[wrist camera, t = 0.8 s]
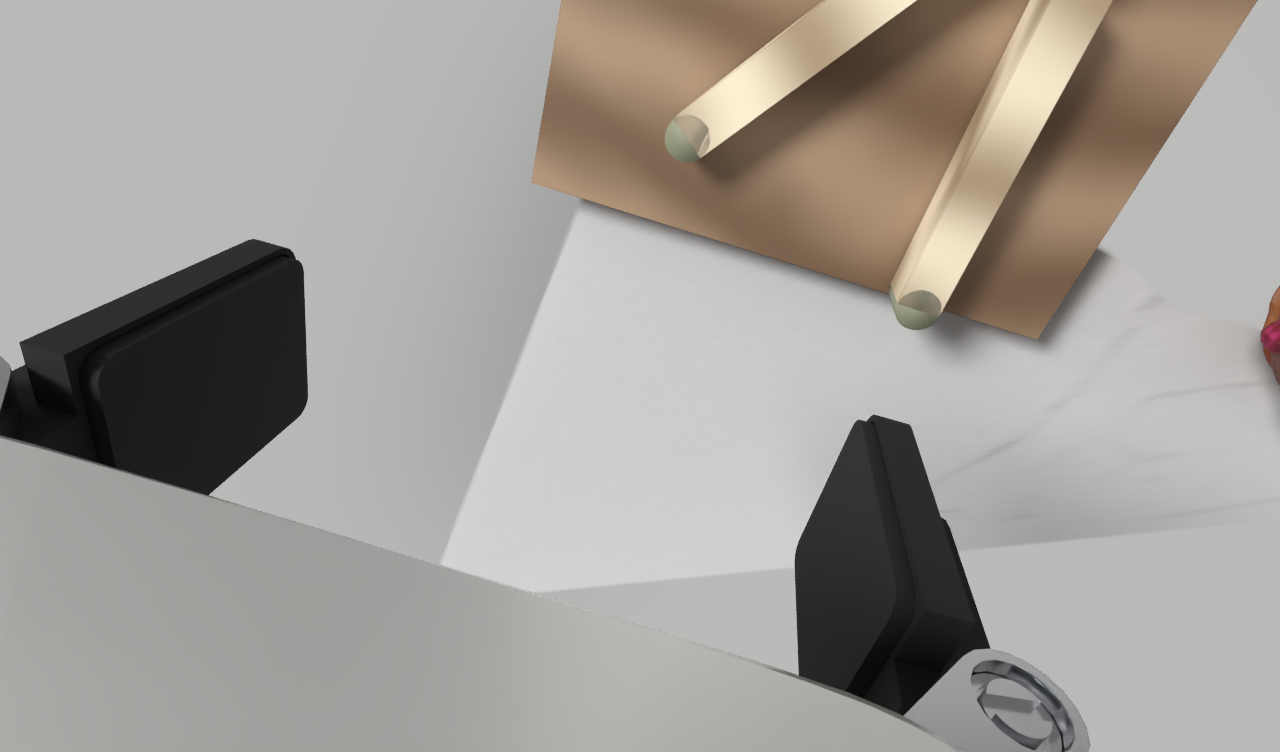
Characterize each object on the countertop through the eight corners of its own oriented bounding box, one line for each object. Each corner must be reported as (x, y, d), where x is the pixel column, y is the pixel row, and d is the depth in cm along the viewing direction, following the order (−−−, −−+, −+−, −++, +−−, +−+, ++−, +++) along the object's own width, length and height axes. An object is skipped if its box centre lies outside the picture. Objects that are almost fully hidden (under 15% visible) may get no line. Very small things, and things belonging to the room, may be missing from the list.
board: (626, -295, 24) (613, -317, 22) (1289, -105, 23) (1330, -112, 22) (544, 172, 33) (531, 182, 31) (1023, 320, 32) (1037, 339, 30)
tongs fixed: (1057, -140, 22) (1093, -157, 20) (1147, -115, 22) (1194, -129, 20) (856, 294, 31) (862, 321, 28) (920, 313, 31) (932, 343, 28)
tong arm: (1106, -220, 21) (1137, -241, 19) (1156, -93, 22) (1190, -101, 20) (664, 124, 29) (655, 133, 27) (720, 205, 30) (715, 219, 28)
